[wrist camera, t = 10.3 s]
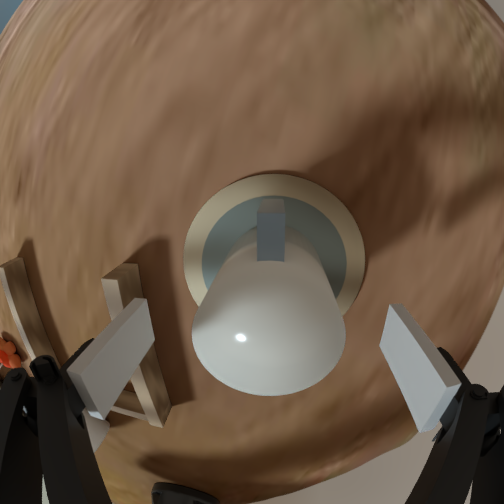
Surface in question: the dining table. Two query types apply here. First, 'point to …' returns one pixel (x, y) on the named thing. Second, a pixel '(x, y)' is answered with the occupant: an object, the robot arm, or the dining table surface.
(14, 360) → the orange lump with branch
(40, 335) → the wooden u-shaped frame
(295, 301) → the blue handled white cup
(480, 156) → the dining table surface
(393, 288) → the dining table surface
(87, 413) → the mug
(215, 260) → the coaster
